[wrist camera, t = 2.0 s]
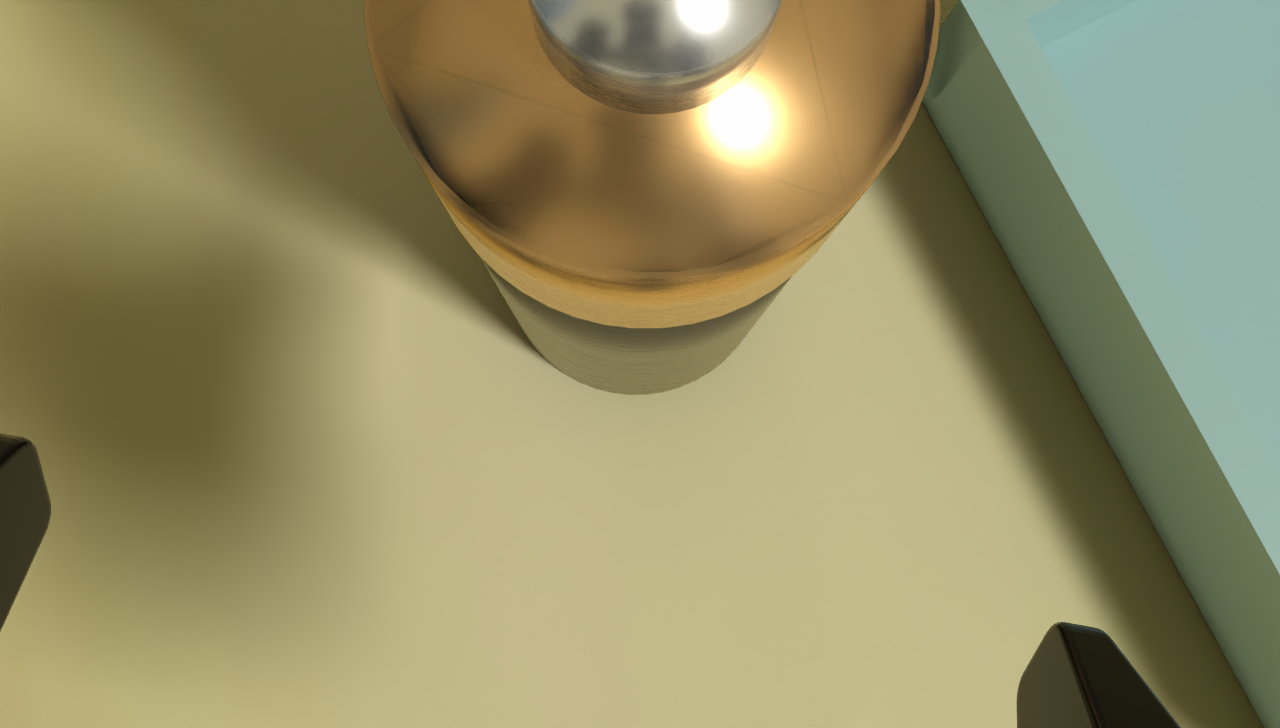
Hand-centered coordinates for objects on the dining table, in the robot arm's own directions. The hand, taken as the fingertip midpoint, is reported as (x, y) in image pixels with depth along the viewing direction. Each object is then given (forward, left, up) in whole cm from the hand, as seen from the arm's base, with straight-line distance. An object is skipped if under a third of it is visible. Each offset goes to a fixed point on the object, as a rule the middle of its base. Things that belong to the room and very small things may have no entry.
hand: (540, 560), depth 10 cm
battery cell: (+4, -3, -11) cm, 13 cm away
